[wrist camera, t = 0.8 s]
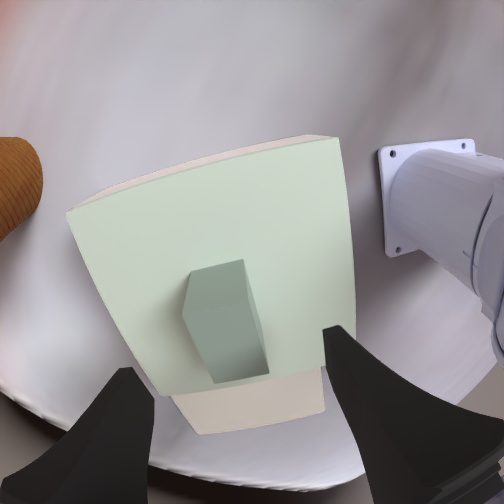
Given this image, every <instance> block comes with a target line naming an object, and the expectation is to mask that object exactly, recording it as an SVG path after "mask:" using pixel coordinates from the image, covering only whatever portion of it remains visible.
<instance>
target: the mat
mask: <svg viewBox="0 0 504 504" xmlns="http://www.w3.org/2000/svg"><path fill="white" fill-rule="evenodd" d="M170 397H171V398H172V400H173V401H174V403H175V404H176V405H177V407H178V408H179V410H180V411H181V412H182V414H183V415H184V417H185V418H186V419H187V421H188V422H189V423H190V425H191V426H192V427H193V429H194V430H195V431H196V432H197V434H198V435H205V434H215V433H223V432H230V431H237V430H244V429H250V428H256V427H261V426H266V425H271V424H276V423H281V422H286V421H290V420H294V419H299V418H303V417H307V416H311V415H314V414H318V413H322V412H325V407H324V396H323V385H322V375H321V367H318V368H315V369H311V370H307V371H303V372H299V373H295V374H291V375H287V376H283V377H279V378H274V379H270V380H265V381H261V382H256V383H251V384H246V385H240V386H235V387H229V388H223V389H217V390H211V391H204V392H197V393H189V394H181V395H172V396H170Z"/></svg>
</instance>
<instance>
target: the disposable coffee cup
mask: <svg viewBox="0 0 504 504" xmlns="http://www.w3.org/2000/svg"><path fill="white" fill-rule="evenodd" d="M42 185H43V178H42V168H41V164H40V161H39V157H38V155H37V153H36V151H35V150H34V148H33V147H32V146H31V144H29V143H28V142H27V141H26V140H24V139H21V138H17V137H0V242H1V241H2V240H3V239H4V238H5V237H6V236H7V235H8V234H9V233H10V232H12V231H13V230H14V229H15V228H16V227H17V226H18V225H19V223H21V222H22V221H23V220H25V219H26V218H27V217H28V216H30V215H31V214H32V213H33V211H34V210H35V209H36V207H37V205H38V202H39V200H40V197H41V193H42Z"/></svg>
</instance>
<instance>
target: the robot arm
mask: <svg viewBox="0 0 504 504" xmlns="http://www.w3.org/2000/svg"><path fill="white" fill-rule="evenodd" d="M391 150H392V151H393V156H392V157H391V156H390V152H391ZM378 160H379V168H380V177H381V188H382V200H383V214H384V233H385V253H386V255H387V256H388V257H390V258H392V257H396V256H399V255H403V254H406V253H409V252H413V251H416V250H419V249H421V250H422V251H423V252H425V253H426V254H427V255H428V256H430V257H431V258H432V259H434V260H435V261H436V262H437V263H439V264H440V265H441V266H442V267H444V268H445V269H446V270H447V271H449V272H450V273H451V274H452V275H454V276H455V277H456V278H457V279H458V280H460V281H461V282H462V283H463V284H464V285H465V286H467V287H468V288H469V289H470V290H471V291H472V292H474V293H475V294H476V295H477V296H478V297H479V298H480V299H481V301H482V310H481V312H482V313H483V314H484V315H485V316H486V317H487V318H488V319H489V320H490V321H491V322H492V323H493V327H492V332H491V343H492V348H493V352H494V354H495V356H496V359H497V360H498V362H499V363H500V365H501V366H502V367H503V369H504V159H500V158H496V157H493V156H489V155H485V154H481V153H477V152H475V143H474V141H473V140H472V139H454V140H441V141H430V142H420V143H411V144H402V145H394V146H386V147H382V148H380V149H379V151H378ZM397 247H399V249H398V250H397V251H396V248H397ZM322 333H323V342H324V353H325V364H326V369H327V372H328V376H329V379H330V382H331V385H332V388H333V391H334V393H335V395H336V398H337V400H338V402H339V404H340V406H341V409H342V411H343V413H344V415H345V417H346V420H347V422H348V424H349V426H350V428H351V431H352V433H353V435H354V438H355V440H356V443H357V445H358V448H359V451H360V455H361V458H362V461H363V465H364V468H365V471H366V475H367V478H368V482H369V486H370V490H371V494H372V497H373V501H374V504H504V475H503V476H501V477H500V475H499V473H498V471H500V470H501V467H500V465H499V463H498V461H499V460H500V459H501V458H502V457H503V456H504V420H503V419H499V418H495V417H490V416H486V415H482V414H478V413H475V412H472V411H469V410H466V409H463V408H461V407H458V406H456V405H453V404H451V403H449V402H446V401H444V400H442V399H440V398H437V397H435V396H433V395H431V394H429V393H428V392H426V391H424V390H422V389H420V388H418V387H417V386H415V385H413V384H412V383H410V382H409V381H407V380H405V379H404V378H402V377H401V376H399V375H398V374H397V373H395V372H394V371H392V370H391V369H390V368H388V367H387V366H386V365H384V364H383V363H382V362H380V361H379V360H378V359H377V358H376V357H374V356H373V355H372V354H371V353H369V352H368V351H367V350H366V349H365V348H364V347H363V346H361V345H360V344H359V343H358V342H357V341H356V340H355V339H354V338H353V337H352V336H351V335H350V334H349V333H348V332H347V331H346V330H345V329H344V328H343V327H342V326H340V325H336V326H332V327H329V328H325V329H322ZM153 425H154V398H153V396H152V395H151V394H150V392H149V391H148V389H147V388H146V387H145V385H144V384H143V382H142V381H141V380H140V378H139V377H138V375H137V374H136V372H135V371H134V369H133V368H132V367H127V368H119V369H118V370H117V371H116V373H115V374H114V375H113V376H112V377H111V379H110V380H109V381H108V383H107V384H106V385H105V386H104V388H103V389H102V390H101V392H100V393H99V394H98V396H97V397H96V398H95V399H94V401H93V402H92V403H91V405H90V406H89V407H88V408H87V410H86V411H85V412H84V413H83V414H82V416H81V417H80V418H79V419H78V421H77V422H76V423H75V424H74V425H73V426H72V428H71V429H70V430H69V431H68V432H67V433H66V434H65V435H64V436H63V437H62V438H61V439H60V440H59V441H58V442H57V443H56V444H55V445H54V446H52V447H51V448H50V449H49V450H48V451H46V452H45V453H44V454H43V455H42V456H40V457H39V458H38V459H36V460H35V461H33V462H32V463H30V464H29V465H27V466H26V467H24V468H23V469H21V470H19V471H17V472H16V473H13V474H12V475H10V476H8V477H5V478H4V479H3V481H2V484H1V487H0V504H148V500H147V467H148V460H149V453H150V446H151V439H152V432H153Z"/></svg>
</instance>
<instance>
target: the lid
mask: <svg viewBox="0 0 504 504" xmlns="http://www.w3.org/2000/svg"><path fill="white" fill-rule="evenodd" d="M65 215H66V218H67V220H68V223H69V226H70V228H71V231H72V233H73V236H74V238H75V241H76V243H77V246H78V248H79V250H80V253H81V255H82V257H83V260H84V262H85V264H86V266H87V269H88V271H89V273H90V275H91V277H92V279H93V281H94V284H95V286H96V288H97V290H98V292H99V294H100V296H101V298H102V300H103V302H104V304H105V305H106V307H107V309H108V311H109V313H110V315H111V317H112V319H113V320H114V322H115V324H116V326H117V328H118V329H119V331H120V333H121V335H122V336H123V338H124V340H125V342H126V343H127V345H128V347H129V348H130V350H131V352H132V353H133V355H134V356H135V358H136V360H137V361H138V363H139V364H140V366H141V367H142V369H143V371H144V372H145V374H146V375H147V377H148V378H149V380H150V381H151V383H152V384H153V386H154V387H155V388H156V390H157V391H158V393H159V394H160V396H161V397H163V396H172V395H181V394H189V393H197V392H204V391H211V390H217V389H223V388H229V387H235V386H240V385H246V384H251V383H256V382H261V381H265V380H270V379H274V378H279V377H283V376H287V375H291V374H295V373H299V372H303V371H307V370H311V369H315V368H318V367H322V366H325V365H326V364H325V353H324V342H323V333H322V329H325V328H329V327H332V326H336V325H340V326H342V327H343V328H344V329H345V330H346V331H347V332H348V333H349V334H350V335H351V336H352V337H353V338H354V339H355V340H356V301H355V279H354V262H353V249H352V237H351V226H350V217H349V208H348V199H347V191H346V184H345V177H344V170H343V163H342V157H341V151H340V145H339V139H338V138H337V137H328V138H322V139H316V140H311V141H305V142H299V143H294V144H289V145H284V146H279V147H274V148H269V149H265V150H260V151H255V152H251V153H247V154H242V155H238V156H234V157H230V158H226V159H222V160H218V161H214V162H210V163H207V164H203V165H199V166H196V167H192V168H189V169H185V170H182V171H178V172H175V173H172V174H168V175H165V176H162V177H159V178H155V179H152V180H149V181H146V182H143V183H140V184H137V185H134V186H131V187H128V188H125V189H122V190H120V191H117V192H114V193H111V194H108V195H106V196H103V197H100V198H98V199H95V200H92V201H90V202H87V203H85V204H82V205H80V206H77V207H75V208H72V209H71V210H69V211H67V212H66V213H65Z"/></svg>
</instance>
